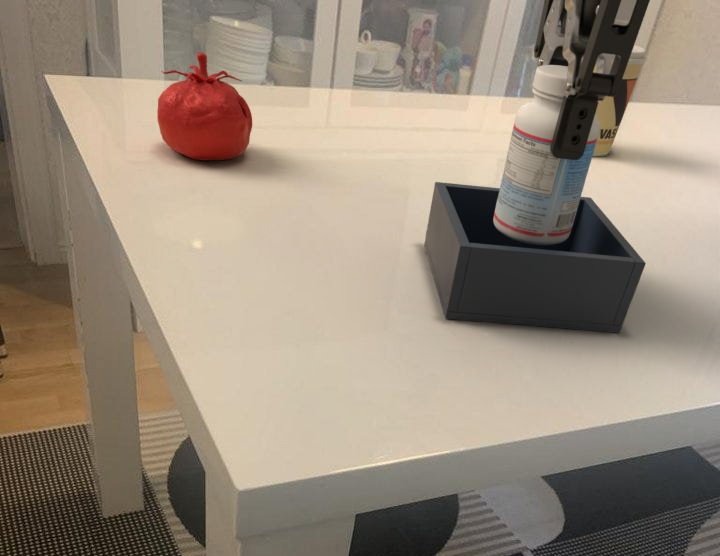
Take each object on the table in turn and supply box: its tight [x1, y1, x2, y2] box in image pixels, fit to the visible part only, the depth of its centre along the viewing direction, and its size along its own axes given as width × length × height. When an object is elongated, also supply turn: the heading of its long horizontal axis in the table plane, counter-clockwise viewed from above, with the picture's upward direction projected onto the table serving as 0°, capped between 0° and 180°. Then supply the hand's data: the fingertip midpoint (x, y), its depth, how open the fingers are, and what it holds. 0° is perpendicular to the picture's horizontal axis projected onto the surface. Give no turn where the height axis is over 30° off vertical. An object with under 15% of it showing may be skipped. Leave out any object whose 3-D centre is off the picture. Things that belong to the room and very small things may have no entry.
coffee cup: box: [592, 44, 647, 157], centre depth 94 cm, size 9×9×12 cm
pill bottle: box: [493, 65, 600, 245], centre depth 54 cm, size 6×6×11 cm
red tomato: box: [156, 51, 253, 161], centre depth 75 cm, size 10×10×9 cm
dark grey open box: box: [423, 181, 646, 333], centre depth 59 cm, size 14×14×6 cm
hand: (552, 142), depth 54 cm, fingers closed on pill bottle, 6 cm apart
